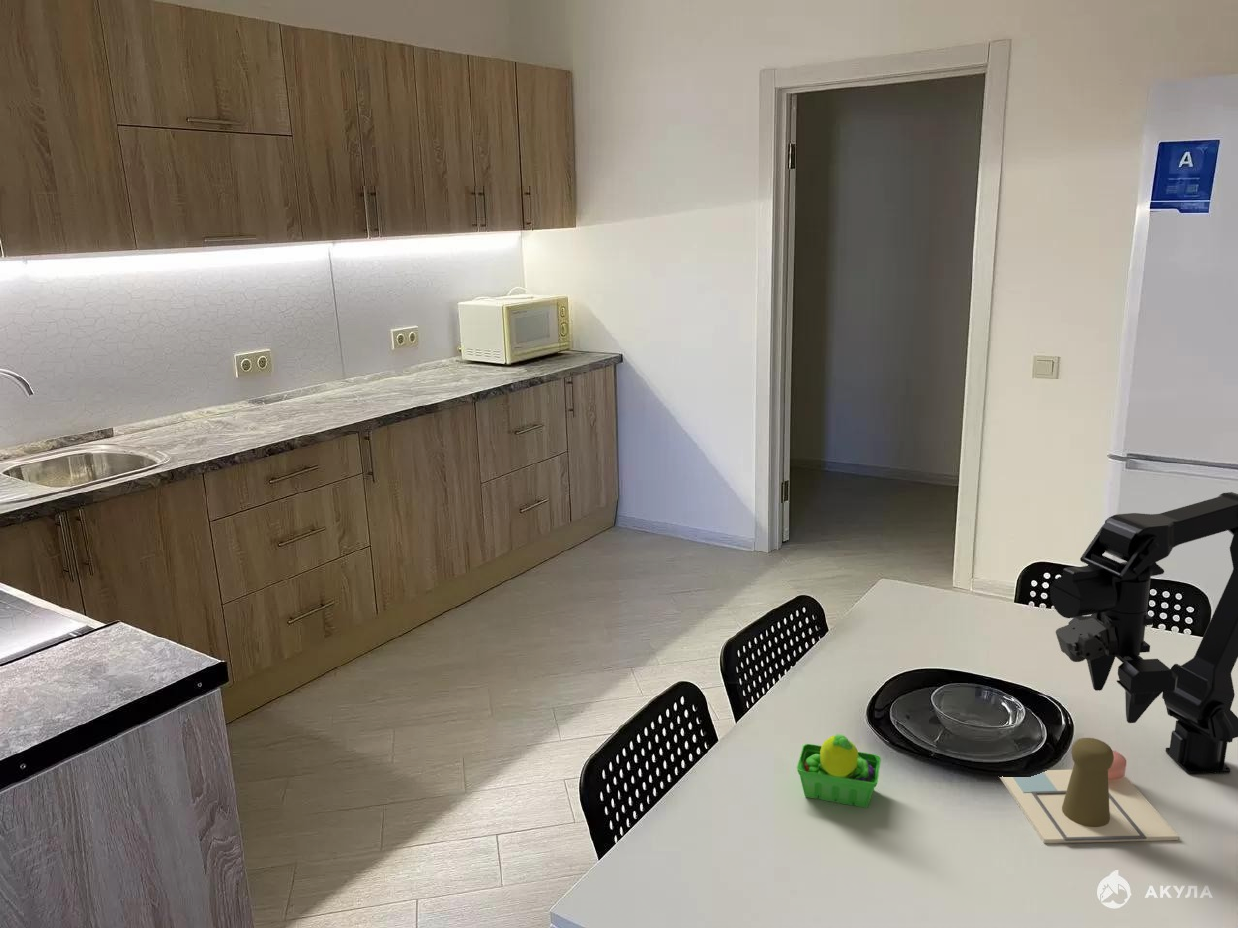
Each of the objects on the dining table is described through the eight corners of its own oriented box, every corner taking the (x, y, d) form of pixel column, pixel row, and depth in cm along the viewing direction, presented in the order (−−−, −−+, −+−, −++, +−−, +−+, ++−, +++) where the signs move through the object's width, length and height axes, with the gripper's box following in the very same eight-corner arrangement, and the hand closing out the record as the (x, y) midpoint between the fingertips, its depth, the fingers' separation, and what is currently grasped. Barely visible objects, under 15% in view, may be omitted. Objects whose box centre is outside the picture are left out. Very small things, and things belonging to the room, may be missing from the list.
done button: (1114, 759, 143) (1115, 747, 143) (1131, 778, 138) (1133, 766, 138) (1080, 760, 143) (1082, 748, 143) (1097, 779, 138) (1098, 767, 138)
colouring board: (1118, 771, 143) (1118, 766, 143) (1180, 841, 127) (1181, 836, 127) (998, 774, 143) (998, 769, 143) (1045, 845, 127) (1045, 839, 127)
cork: (1115, 828, 129) (1124, 757, 126) (1068, 824, 130) (1076, 753, 127) (1102, 802, 135) (1110, 733, 132) (1056, 798, 136) (1064, 730, 133)
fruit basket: (880, 784, 142) (883, 716, 139) (875, 820, 134) (878, 748, 131) (802, 772, 145) (804, 705, 142) (793, 805, 137) (795, 736, 134)
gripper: (1036, 582, 142) (1029, 677, 146) (1100, 637, 124) (1090, 743, 128) (1111, 579, 142) (1102, 673, 146) (1185, 633, 124) (1172, 739, 128)
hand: (1113, 705), depth 137 cm, fingers open, 9 cm apart
